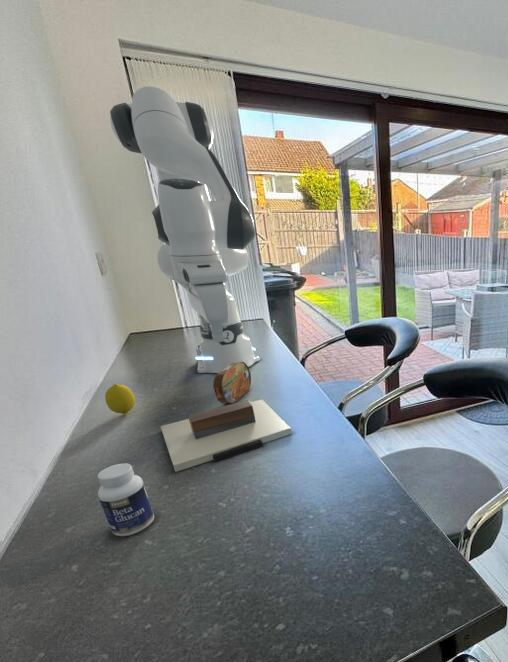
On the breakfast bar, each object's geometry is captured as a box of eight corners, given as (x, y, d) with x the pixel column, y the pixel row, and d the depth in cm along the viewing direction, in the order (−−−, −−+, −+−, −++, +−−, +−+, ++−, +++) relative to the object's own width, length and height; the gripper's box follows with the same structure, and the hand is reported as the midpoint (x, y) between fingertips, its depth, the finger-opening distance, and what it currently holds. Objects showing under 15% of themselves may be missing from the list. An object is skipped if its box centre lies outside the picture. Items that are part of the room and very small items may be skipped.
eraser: (192, 432, 85) (187, 415, 83) (250, 415, 91) (247, 399, 90) (195, 439, 82) (190, 422, 80) (255, 421, 88) (252, 405, 87)
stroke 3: (245, 444, 80) (246, 446, 79) (260, 439, 82) (261, 441, 81) (246, 449, 80) (247, 451, 80) (261, 444, 82) (262, 446, 81)
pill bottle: (119, 543, 57) (97, 487, 53) (107, 527, 60) (85, 473, 57) (161, 521, 61) (142, 468, 57) (147, 508, 64) (129, 456, 61)
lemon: (144, 409, 100) (134, 379, 97) (126, 419, 95) (116, 388, 92) (124, 409, 100) (114, 379, 97) (105, 419, 95) (94, 388, 92)
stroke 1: (212, 454, 77) (213, 457, 76) (229, 449, 78) (230, 451, 77) (213, 460, 77) (214, 462, 76) (230, 454, 79) (231, 456, 78)
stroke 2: (229, 449, 78) (230, 451, 78) (244, 443, 80) (246, 445, 79) (230, 454, 79) (231, 456, 78) (246, 449, 80) (247, 451, 80)
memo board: (162, 432, 88) (160, 426, 88) (263, 404, 101) (262, 399, 100) (175, 472, 73) (173, 465, 73) (291, 434, 86) (290, 427, 85)
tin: (228, 408, 99) (220, 377, 96) (215, 409, 99) (208, 377, 96) (254, 385, 113) (248, 357, 110) (243, 385, 113) (237, 357, 110)
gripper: (173, 265, 85) (188, 328, 90) (190, 276, 70) (207, 350, 75) (206, 263, 89) (218, 324, 94) (228, 273, 74) (242, 344, 79)
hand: (213, 336), depth 85 cm, fingers open, 8 cm apart
